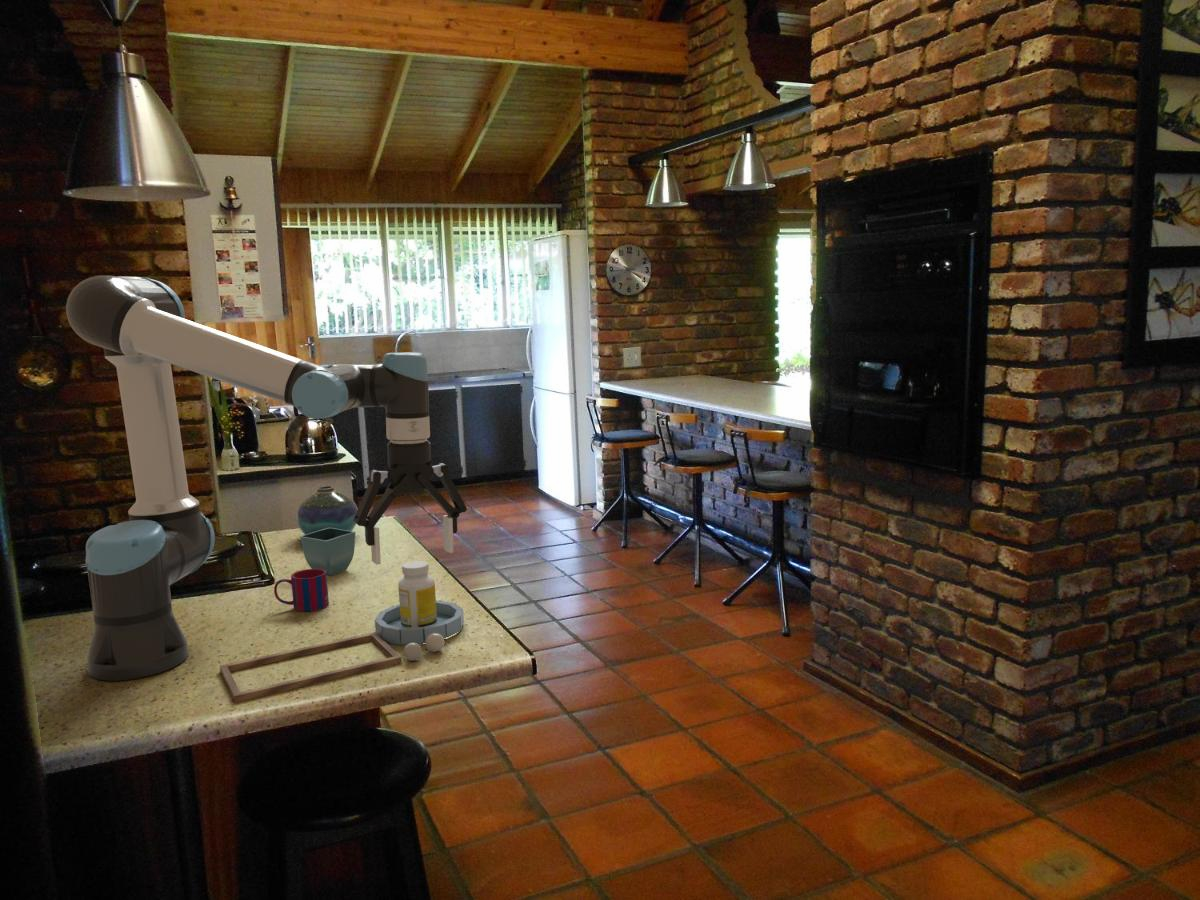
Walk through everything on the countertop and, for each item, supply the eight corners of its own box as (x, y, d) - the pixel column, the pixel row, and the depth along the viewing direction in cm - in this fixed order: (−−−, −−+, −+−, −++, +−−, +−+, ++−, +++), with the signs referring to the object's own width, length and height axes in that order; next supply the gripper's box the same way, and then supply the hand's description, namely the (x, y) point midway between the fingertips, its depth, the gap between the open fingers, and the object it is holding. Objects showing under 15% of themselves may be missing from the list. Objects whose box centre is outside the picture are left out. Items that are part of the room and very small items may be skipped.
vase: (322, 528, 240) (318, 480, 238) (371, 531, 235) (367, 482, 233) (285, 543, 226) (281, 492, 224) (337, 547, 221) (332, 494, 219)
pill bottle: (444, 621, 163) (440, 561, 161) (424, 634, 157) (420, 571, 155) (414, 617, 166) (410, 557, 164) (393, 629, 160) (389, 567, 158)
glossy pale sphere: (407, 665, 146) (406, 647, 145) (401, 659, 148) (400, 642, 148) (425, 661, 147) (423, 643, 147) (418, 655, 150) (417, 638, 149)
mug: (328, 609, 174) (326, 576, 173) (275, 615, 172) (272, 582, 171) (329, 599, 181) (326, 567, 180) (277, 605, 178) (274, 572, 177)
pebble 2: (430, 656, 149) (428, 638, 149) (423, 650, 152) (422, 632, 151) (447, 652, 151) (446, 634, 150) (441, 646, 154) (439, 628, 153)
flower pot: (329, 580, 194) (325, 540, 192) (301, 574, 198) (298, 536, 197) (359, 569, 201) (356, 531, 199) (332, 564, 206) (329, 527, 204)
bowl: (393, 652, 151) (392, 636, 151) (366, 626, 164) (365, 611, 164) (476, 633, 159) (475, 617, 159) (444, 609, 172) (443, 595, 172)
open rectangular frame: (235, 702, 134) (234, 696, 133) (220, 671, 145) (219, 665, 145) (401, 662, 147) (401, 657, 147) (375, 637, 159) (375, 632, 158)
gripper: (343, 449, 147) (350, 572, 150) (482, 437, 159) (485, 551, 163) (331, 443, 153) (338, 562, 156) (466, 432, 166) (469, 542, 169)
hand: (413, 556), depth 160 cm, fingers open, 13 cm apart
